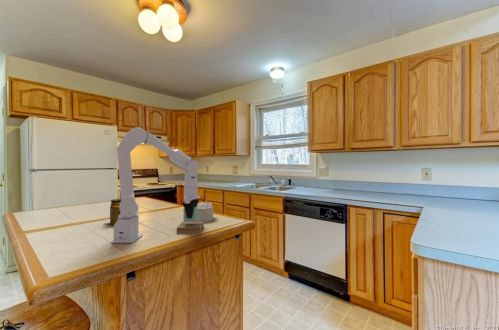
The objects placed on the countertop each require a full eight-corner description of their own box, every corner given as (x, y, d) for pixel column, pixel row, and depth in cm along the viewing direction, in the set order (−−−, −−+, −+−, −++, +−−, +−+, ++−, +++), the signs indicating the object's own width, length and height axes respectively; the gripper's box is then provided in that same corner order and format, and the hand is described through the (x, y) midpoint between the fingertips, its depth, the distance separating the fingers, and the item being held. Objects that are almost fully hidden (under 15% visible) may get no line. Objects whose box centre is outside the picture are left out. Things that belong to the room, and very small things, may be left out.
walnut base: (200, 234, 102) (200, 227, 102) (176, 234, 102) (176, 227, 102) (203, 228, 112) (203, 221, 112) (182, 228, 112) (182, 221, 112)
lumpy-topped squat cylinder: (213, 216, 135) (213, 201, 134) (213, 222, 122) (213, 205, 122) (194, 217, 133) (194, 201, 133) (192, 223, 120) (192, 205, 120)
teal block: (194, 222, 105) (194, 208, 105) (183, 222, 105) (183, 208, 104) (197, 219, 110) (197, 206, 110) (186, 219, 110) (186, 206, 109)
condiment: (126, 224, 116) (126, 199, 116) (107, 227, 111) (107, 201, 110) (122, 221, 122) (122, 198, 122) (103, 224, 116) (103, 199, 116)
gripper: (196, 188, 100) (196, 220, 100) (202, 185, 114) (202, 213, 114) (179, 188, 100) (179, 220, 100) (188, 184, 114) (187, 213, 114)
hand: (190, 216), depth 107 cm, fingers closed on teal block, 5 cm apart
